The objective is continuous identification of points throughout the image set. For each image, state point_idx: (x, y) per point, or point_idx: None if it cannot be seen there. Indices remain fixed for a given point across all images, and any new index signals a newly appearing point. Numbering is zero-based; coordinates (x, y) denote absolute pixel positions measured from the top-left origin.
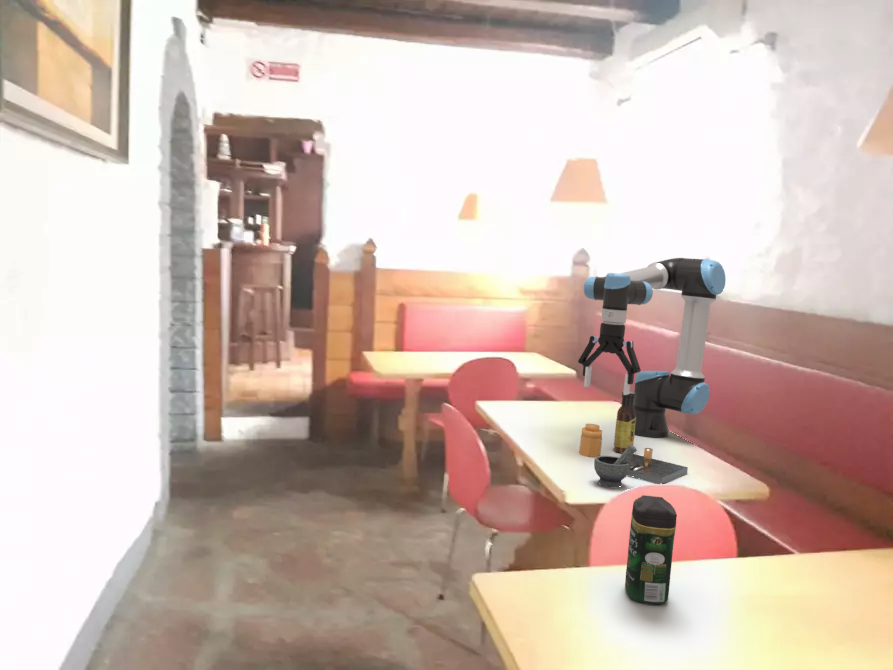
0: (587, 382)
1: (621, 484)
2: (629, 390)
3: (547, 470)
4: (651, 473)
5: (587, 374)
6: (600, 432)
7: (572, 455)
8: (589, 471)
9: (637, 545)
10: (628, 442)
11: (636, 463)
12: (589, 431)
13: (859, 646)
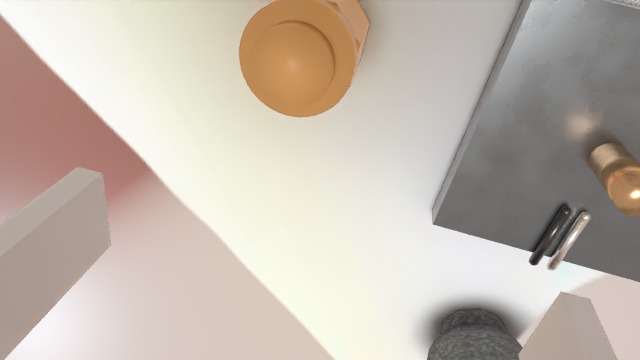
0: (75, 257)
1: (507, 333)
2: (602, 338)
3: (284, 298)
4: (620, 257)
5: (6, 351)
6: (350, 80)
7: None
8: (389, 251)
9: None
10: None
11: (558, 159)
12: (297, 110)
13: None
